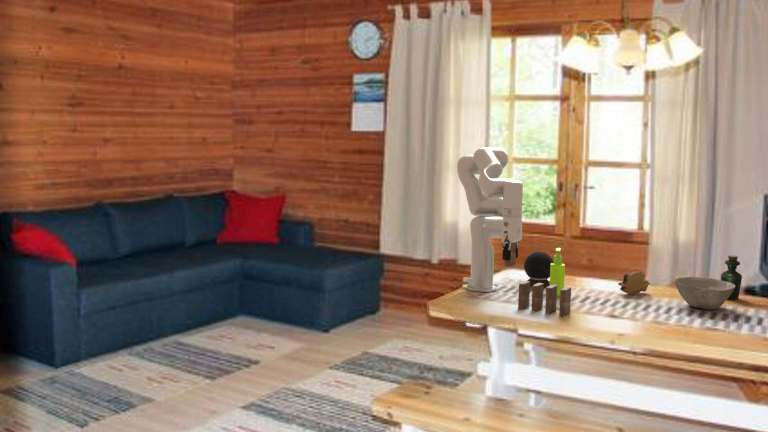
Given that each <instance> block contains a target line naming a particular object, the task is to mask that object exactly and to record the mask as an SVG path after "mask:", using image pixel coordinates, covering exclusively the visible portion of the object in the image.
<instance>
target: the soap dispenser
mask: <svg viewBox="0 0 768 432" xmlns="http://www.w3.org/2000/svg"><path fill="white" fill-rule="evenodd" d="M561 250H562V247H556V248H555V255H554V256H553V261H554V263H551V266H550V277H549V281H550V286H551V285H557V298H560V290H561V289H563V288H565V278H566V277H565V274H566V264H565V263H563V256H562V254H561Z"/></svg>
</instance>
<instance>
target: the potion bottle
mask: <svg viewBox="0 0 768 432" xmlns="http://www.w3.org/2000/svg"><path fill="white" fill-rule="evenodd" d="M738 258H739V256H738V255H734V254H728V255H727V259H726V260H725V261H724V264H725V265H727V270H725V271H723V272H721V274H720V280H721V281H726V282H729V283H732V284H734V285H735V288H734V290H733V291H732V293H731V295H730V296H729V298H728V299H727V300H729V301H737V300H739V299H740V298H739V297H740V291H741V285H742V282H743V281H742V280H743V276H742V274H741V273H739V272H738V271H737V268H738V266H740V265H741V262H740V261H739V260H738Z"/></svg>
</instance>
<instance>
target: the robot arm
mask: <svg viewBox="0 0 768 432" xmlns="http://www.w3.org/2000/svg"><path fill="white" fill-rule="evenodd" d="M508 162H509V154H508V153H507V151H506V149H504V148H502V147H481V148H477V149H476V150H475V152H474V153H473V154H470V155H464V156H461V157H460V158H459V159H458V161H457V166H456V167H457V170H456V171H457V175H458V179H459V181H460V183H461V186H463V189H464V191H465V197H466V201H467V205H468V208H469V212H470V214H471V215H473V216H475V217H473V218H472V219H471V221H470V223H469V224H470V225H469V228H470V229H469V230H470V235H471V236H470V237H471V257H470V258H471V259H470V260H471V261H470V262H471V263H470V277H466V276H465V277H464V276H463V278H462V283H467V285H466V289H467V290H469V291H471V292H478V293H491V292H496V291H497V286H496V285H494V266H495V263H494V262H495V248H494V245H493V244H492V242H491V240H490V239H501V241H500V243H501V248H502V260H503V261H505V260H511V250H510V247H511V243H515V242H516V259H518V257H519V246H520V244H519V243H520V242H522V240H523V221H522V216H523V195H524V194H523V193H524V192H523V191H524V189H523V188H524V184H523V182H522V181H520V180H516V179H514V178H500V176H501V175H502V174H503V171H504V170H503V169H504V168H505V167H506V166H507V165H508ZM476 175H478V177H477V176H476ZM506 240H508V241H509V242H506ZM507 244H508V245H507Z"/></svg>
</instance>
